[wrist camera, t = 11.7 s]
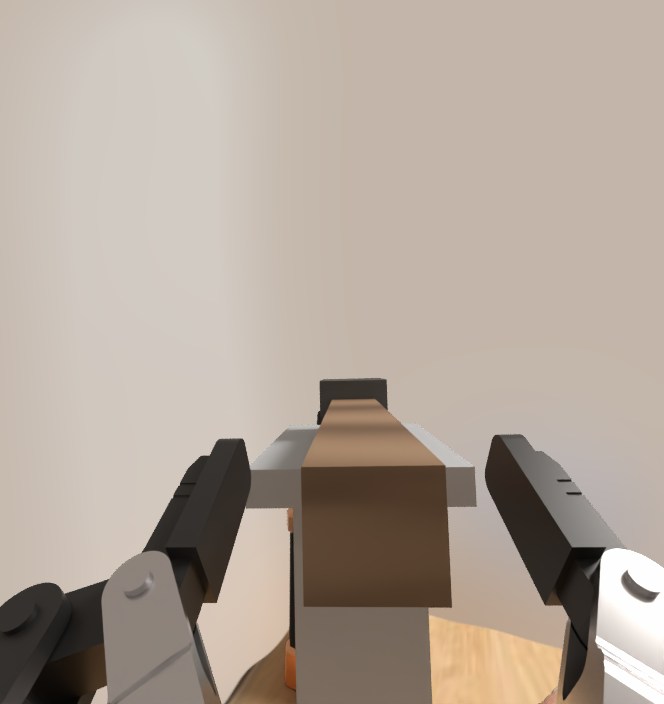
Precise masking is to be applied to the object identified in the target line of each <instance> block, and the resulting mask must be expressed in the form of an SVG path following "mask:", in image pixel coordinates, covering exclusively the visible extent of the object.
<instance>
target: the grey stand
mask: <svg viewBox="0 0 664 704" xmlns="http://www.w3.org/2000/svg"><path fill="white" fill-rule="evenodd" d="M401 424H402V425H403V426H404V427H405V428H406V429H408V430H409V431H410V432H411V433H412V434H413V435H414V436H415V437H416V438H417V439H418V440H419V441H420V442H421V443H422V444H423V445H425V446H426V447H427V448H428V449H429V450H430V451H431V452H432V453H433V454H434V455H435V456H436V457H437V458H438V459H439V460H440V461H441V462H443V463H444V464H445V466H446V489H447V507H469V506H470V507H476V486H475V467H474V466H473V465H471V464H470V463H469V462H467V461H466V460H464V459H463V458H462V457H461V456H459V455H458V454H457V453H455V452H454V451H453V450H451V449H450V448H448V447H447V446H446V445H444V444H443V443H442V442H440V441H439V440H438V439H436V438H435V437H434V436H432V435H431V434H430V433H428V432H427V431H426V430H424V429H423V428H422V427H420V426H419V425H418V424H416V423H401ZM319 427H320V425H293V426H289V427H288V428H287V429H286V430H285V431H284V432H283V433H282V434H281V435H280V436H279V437H278V438H277V439H276V440H275V441H274V442H273V443H272V444H271V445H270V447H268V448H267V449H266V450H265V451H264V452H263V453H262V454H261V455H260V456H259V457H258V458H257V459H256V460H255V461H254V462H253V463H252V464H251V465H250V470H251V488H250V492H249V496H248V499H247V503H246V508H293V534H294V591H295V649H296V704H432V689H431V664H430V640H429V615H428V607H304V603H303V551H302V498H301V466H302V464H303V462H304V459H305V457H306V455H307V453H308V451H309V449H310V446H311V444H312V442H313V440H314V438H315V436H316V433H317V431H318V429H319Z"/></svg>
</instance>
